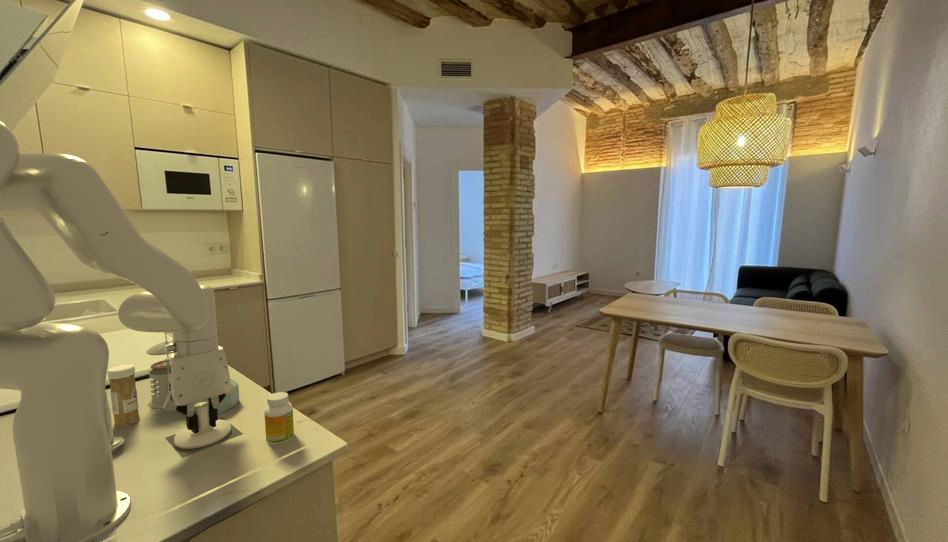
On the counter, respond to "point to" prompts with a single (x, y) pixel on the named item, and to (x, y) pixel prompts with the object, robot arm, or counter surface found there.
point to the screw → (115, 440)
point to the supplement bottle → (279, 419)
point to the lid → (202, 430)
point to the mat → (187, 452)
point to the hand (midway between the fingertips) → (203, 427)
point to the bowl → (227, 399)
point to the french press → (159, 375)
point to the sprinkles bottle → (123, 395)
